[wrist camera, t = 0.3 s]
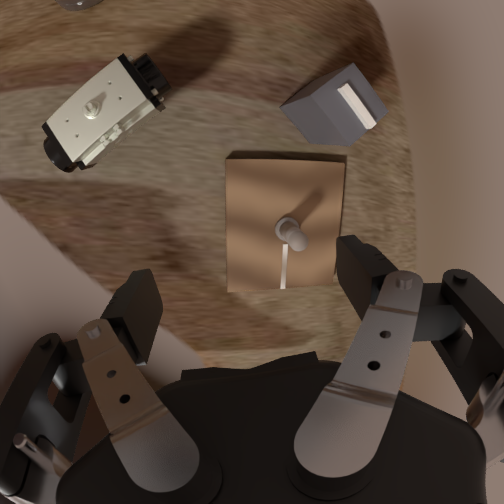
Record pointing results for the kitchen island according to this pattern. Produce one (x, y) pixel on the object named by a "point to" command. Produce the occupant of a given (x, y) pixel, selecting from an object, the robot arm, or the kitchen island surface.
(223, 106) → the kitchen island surface
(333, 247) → the panel
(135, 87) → the pneumatic valve
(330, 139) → the grey rectangular block
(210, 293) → the kitchen island surface
